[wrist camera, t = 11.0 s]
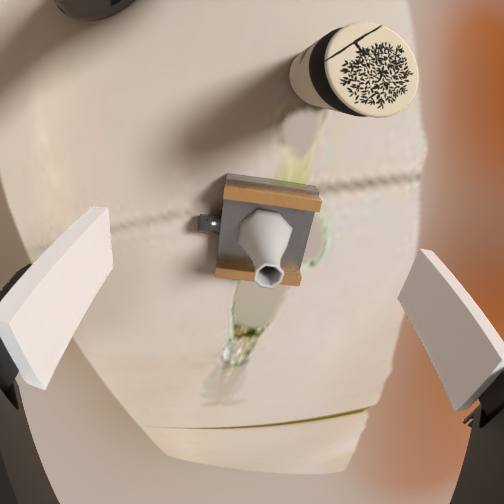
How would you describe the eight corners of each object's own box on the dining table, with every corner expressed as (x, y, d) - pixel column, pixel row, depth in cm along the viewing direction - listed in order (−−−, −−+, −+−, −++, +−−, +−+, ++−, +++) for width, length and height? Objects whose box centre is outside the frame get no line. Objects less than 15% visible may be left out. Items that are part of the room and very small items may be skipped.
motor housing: (205, 170, 38) (199, 180, 35) (315, 186, 40) (322, 197, 36) (197, 260, 45) (193, 277, 42) (294, 271, 47) (298, 289, 43)
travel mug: (360, 90, 33) (436, 98, 17) (309, 117, 35) (356, 138, 19) (329, 39, 29) (390, 6, 14) (276, 65, 31) (299, 42, 16)
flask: (301, 225, 40) (315, 265, 31) (273, 264, 43) (278, 311, 34) (254, 199, 38) (256, 235, 29) (228, 242, 41) (222, 286, 32)
